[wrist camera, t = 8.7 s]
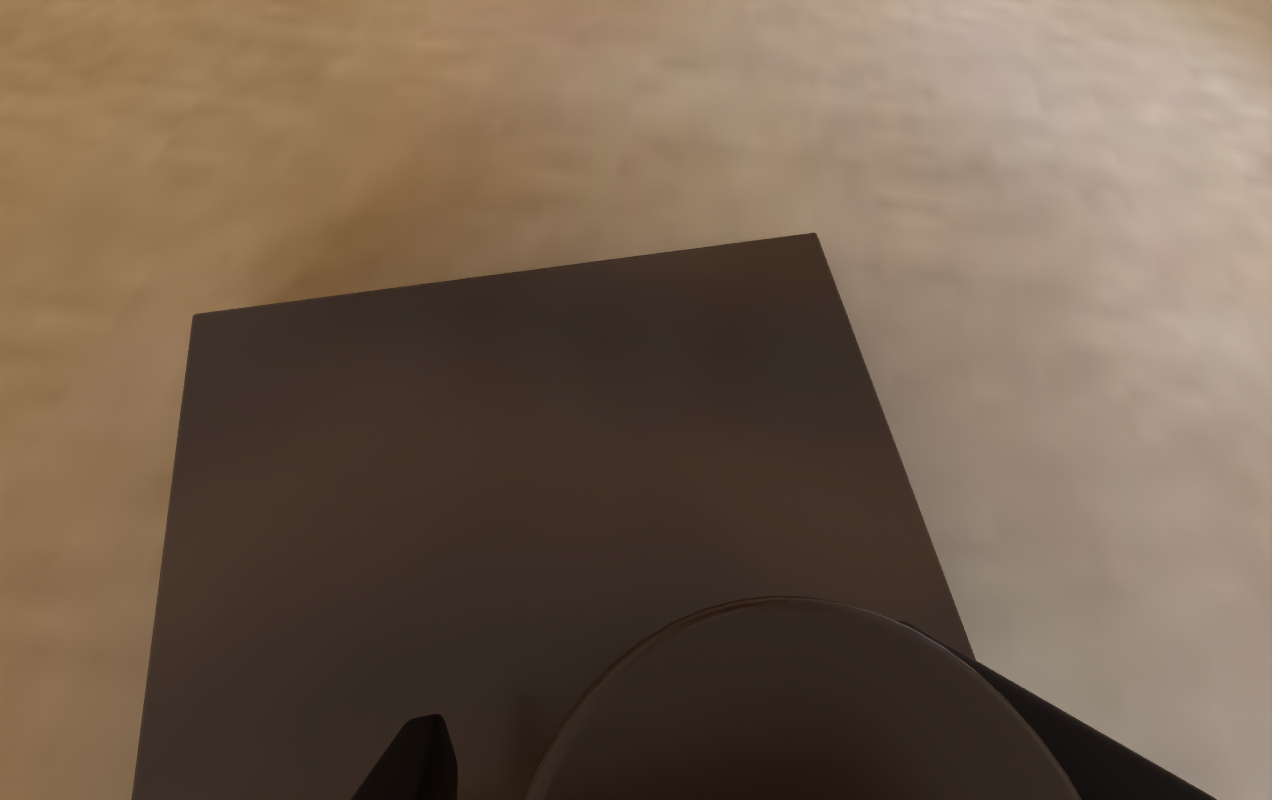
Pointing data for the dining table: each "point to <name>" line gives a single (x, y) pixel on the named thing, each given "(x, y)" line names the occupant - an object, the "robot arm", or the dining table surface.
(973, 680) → the brown mallet
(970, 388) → the dining table surface
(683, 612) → the board
